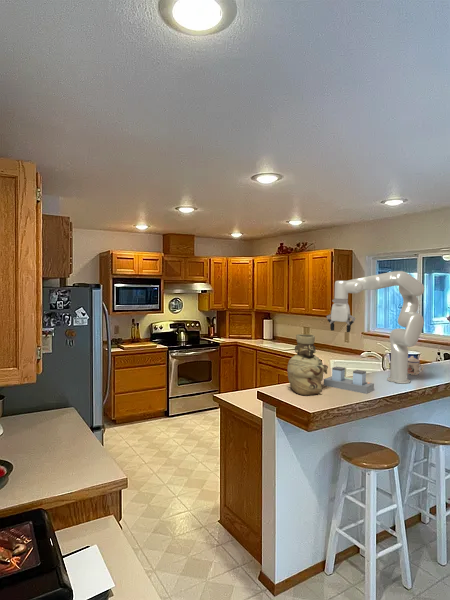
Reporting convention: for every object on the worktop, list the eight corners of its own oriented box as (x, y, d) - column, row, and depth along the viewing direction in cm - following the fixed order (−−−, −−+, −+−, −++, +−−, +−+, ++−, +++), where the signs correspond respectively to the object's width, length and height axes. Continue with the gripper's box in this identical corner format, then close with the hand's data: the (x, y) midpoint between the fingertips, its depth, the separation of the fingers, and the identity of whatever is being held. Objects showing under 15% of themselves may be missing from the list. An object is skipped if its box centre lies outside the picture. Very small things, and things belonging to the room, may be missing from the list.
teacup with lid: (401, 373, 260) (401, 355, 260) (409, 371, 265) (409, 354, 265) (418, 376, 250) (419, 358, 250) (426, 375, 255) (427, 357, 255)
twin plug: (356, 388, 214) (356, 369, 214) (365, 389, 211) (366, 371, 211) (352, 389, 211) (353, 371, 210) (361, 391, 207) (362, 372, 207)
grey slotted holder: (331, 384, 226) (332, 375, 226) (373, 392, 211) (374, 383, 210) (323, 388, 219) (323, 378, 219) (366, 396, 203) (366, 386, 203)
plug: (335, 384, 222) (336, 366, 222) (344, 385, 219) (344, 367, 219) (331, 385, 218) (332, 367, 218) (340, 387, 215) (340, 369, 215)
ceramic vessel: (327, 398, 199) (329, 338, 198) (285, 394, 205) (286, 336, 203) (327, 388, 218) (328, 334, 217) (288, 385, 223) (289, 332, 222)
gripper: (324, 301, 232) (323, 330, 233) (352, 302, 221) (351, 333, 221) (330, 301, 238) (329, 329, 238) (358, 302, 226) (357, 332, 227)
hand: (340, 331), depth 230 cm, fingers open, 9 cm apart
